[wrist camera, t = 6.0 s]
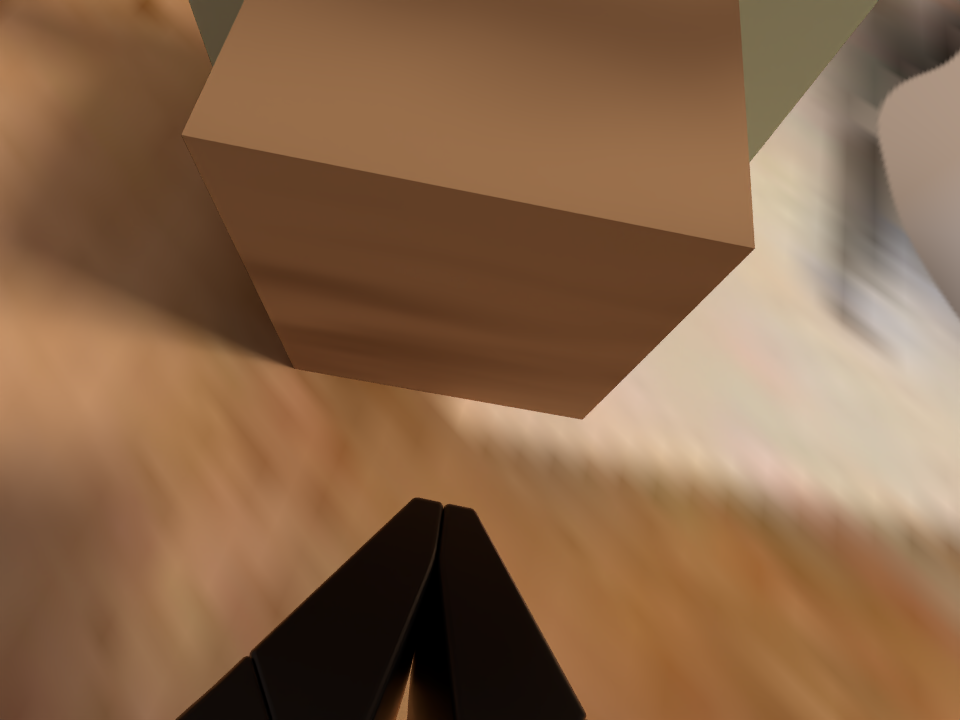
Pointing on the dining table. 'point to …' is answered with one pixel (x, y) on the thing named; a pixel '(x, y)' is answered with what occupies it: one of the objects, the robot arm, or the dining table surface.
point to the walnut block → (480, 184)
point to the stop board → (765, 49)
